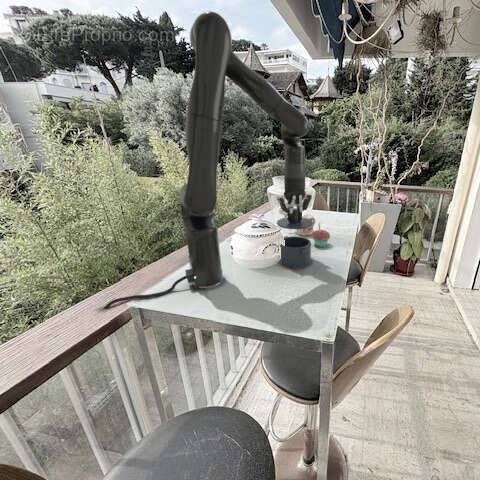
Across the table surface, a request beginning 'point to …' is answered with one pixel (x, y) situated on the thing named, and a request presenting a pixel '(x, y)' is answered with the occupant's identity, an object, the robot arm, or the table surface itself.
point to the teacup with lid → (310, 229)
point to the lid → (295, 221)
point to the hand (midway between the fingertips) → (294, 221)
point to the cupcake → (320, 237)
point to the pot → (295, 252)
